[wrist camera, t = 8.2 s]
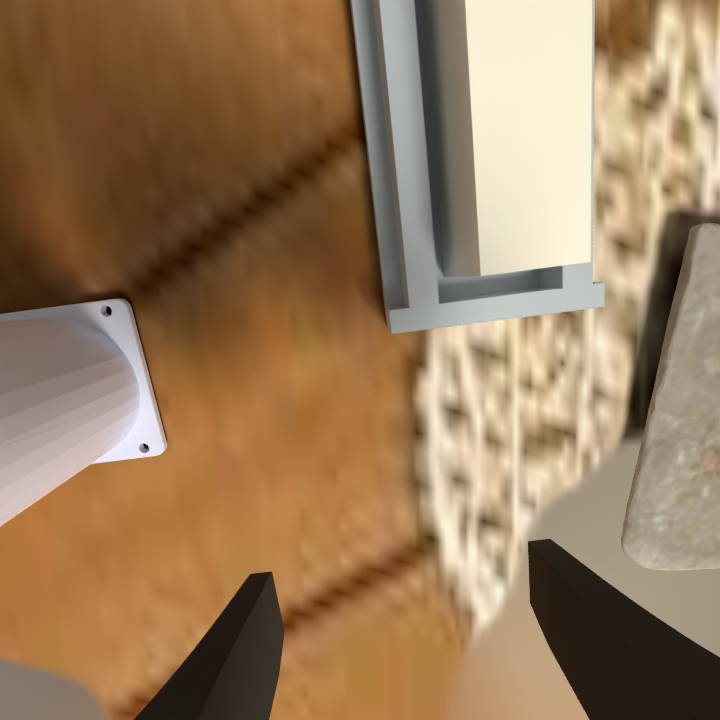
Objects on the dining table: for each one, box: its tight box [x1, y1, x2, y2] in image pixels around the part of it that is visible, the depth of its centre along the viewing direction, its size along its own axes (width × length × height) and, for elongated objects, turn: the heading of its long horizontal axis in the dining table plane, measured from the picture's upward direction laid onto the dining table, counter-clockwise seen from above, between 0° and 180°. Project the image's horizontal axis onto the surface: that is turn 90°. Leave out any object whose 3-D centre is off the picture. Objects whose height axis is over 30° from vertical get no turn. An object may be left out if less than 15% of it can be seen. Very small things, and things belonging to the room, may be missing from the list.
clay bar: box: [423, 0, 592, 277], centre depth 13 cm, size 12×4×5 cm, turn 7°
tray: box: [350, 0, 604, 334], centre depth 15 cm, size 9×16×3 cm, turn 7°
